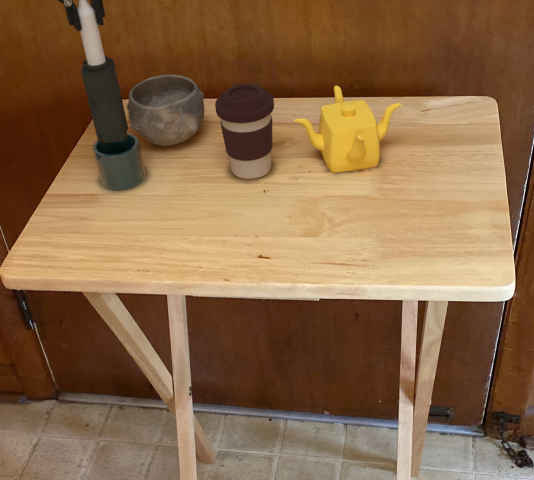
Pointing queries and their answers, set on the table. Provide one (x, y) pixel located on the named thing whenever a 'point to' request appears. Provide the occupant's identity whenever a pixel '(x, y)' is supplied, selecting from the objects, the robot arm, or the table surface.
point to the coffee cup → (247, 129)
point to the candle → (101, 81)
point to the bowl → (166, 109)
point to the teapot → (348, 134)
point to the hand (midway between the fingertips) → (88, 24)
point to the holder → (120, 163)
